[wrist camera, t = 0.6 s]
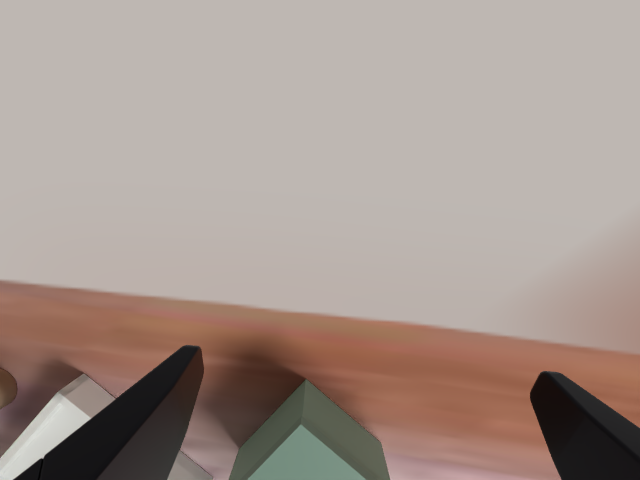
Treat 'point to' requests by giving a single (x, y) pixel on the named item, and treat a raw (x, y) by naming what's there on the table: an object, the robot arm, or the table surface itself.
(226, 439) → the table surface
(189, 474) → the tray
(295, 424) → the green lidded box
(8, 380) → the tan cylinder with block
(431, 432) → the table surface
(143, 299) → the table surface
